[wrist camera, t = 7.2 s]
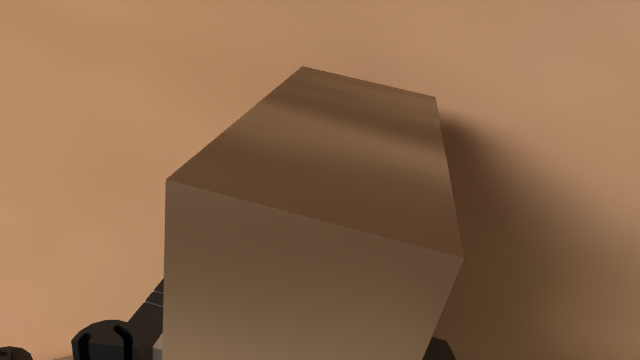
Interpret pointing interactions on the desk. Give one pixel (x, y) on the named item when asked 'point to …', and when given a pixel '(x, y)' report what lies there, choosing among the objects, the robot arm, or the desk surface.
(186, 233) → the rail
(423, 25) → the desk surface
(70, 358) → the wooden block
